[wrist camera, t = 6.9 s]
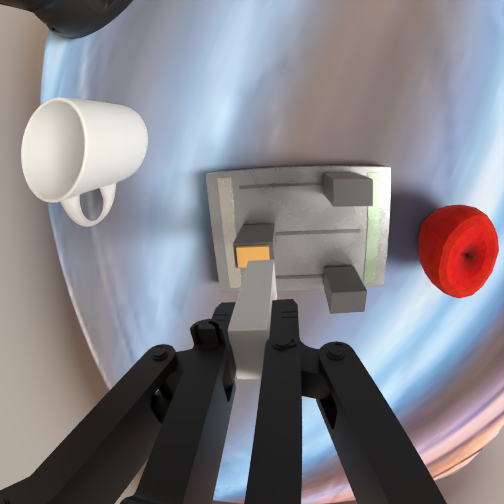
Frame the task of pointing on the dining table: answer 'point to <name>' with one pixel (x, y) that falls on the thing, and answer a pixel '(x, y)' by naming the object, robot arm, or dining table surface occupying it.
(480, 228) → the apple
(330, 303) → the breaker
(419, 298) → the dining table surface
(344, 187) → the block
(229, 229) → the panel
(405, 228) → the dining table surface
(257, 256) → the block
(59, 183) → the mug
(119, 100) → the dining table surface
